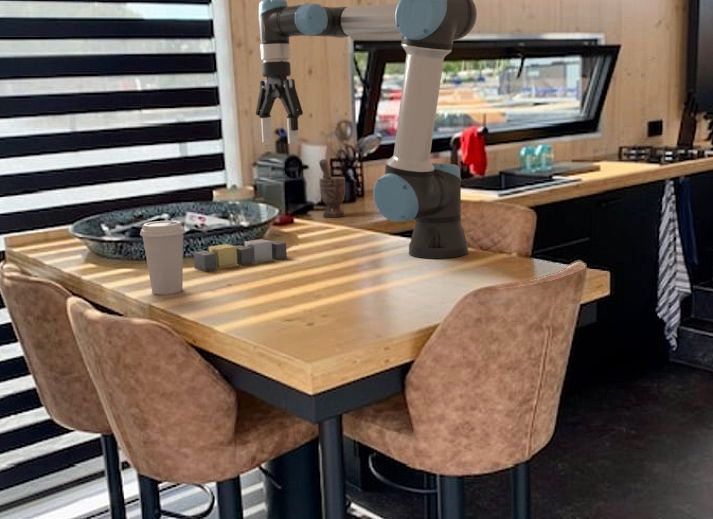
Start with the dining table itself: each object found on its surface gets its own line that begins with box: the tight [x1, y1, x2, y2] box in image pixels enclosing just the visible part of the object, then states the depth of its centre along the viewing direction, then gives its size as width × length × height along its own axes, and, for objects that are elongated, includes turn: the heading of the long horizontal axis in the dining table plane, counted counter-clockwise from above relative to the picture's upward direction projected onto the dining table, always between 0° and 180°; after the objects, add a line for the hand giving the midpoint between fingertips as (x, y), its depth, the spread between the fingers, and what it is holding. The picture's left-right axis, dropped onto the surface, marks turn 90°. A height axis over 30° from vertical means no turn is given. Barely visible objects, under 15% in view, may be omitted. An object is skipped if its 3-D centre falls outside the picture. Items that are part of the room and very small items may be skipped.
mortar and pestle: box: [319, 158, 346, 219], centre depth 285 cm, size 12×9×20 cm
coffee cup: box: [139, 220, 186, 296], centre depth 184 cm, size 10×10×15 cm
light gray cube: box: [244, 238, 273, 264], centre depth 216 cm, size 5×5×5 cm
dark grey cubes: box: [193, 239, 288, 272], centre depth 213 cm, size 6×23×4 cm, turn 126°
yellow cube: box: [208, 243, 238, 270], centre depth 211 cm, size 5×5×5 cm
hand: (280, 142), depth 227 cm, fingers open, 13 cm apart
